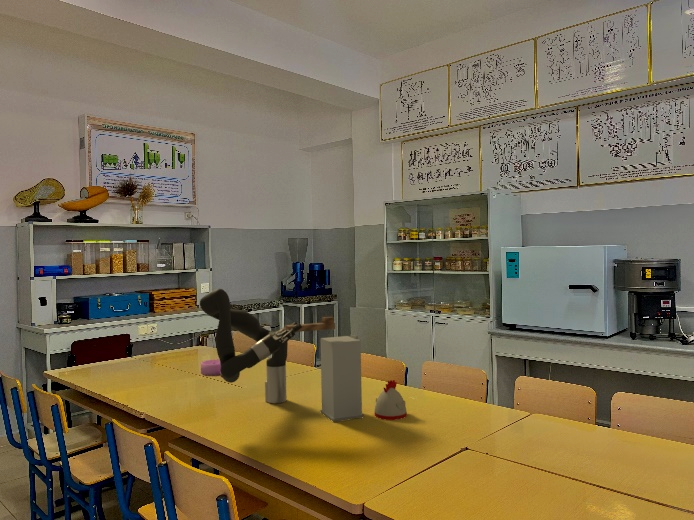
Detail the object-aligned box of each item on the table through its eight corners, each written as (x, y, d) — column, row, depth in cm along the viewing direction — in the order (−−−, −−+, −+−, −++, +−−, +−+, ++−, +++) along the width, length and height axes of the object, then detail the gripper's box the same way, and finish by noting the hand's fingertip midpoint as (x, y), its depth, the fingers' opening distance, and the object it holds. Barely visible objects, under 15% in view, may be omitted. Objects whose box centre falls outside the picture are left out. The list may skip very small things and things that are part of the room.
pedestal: (333, 422, 225) (331, 340, 224) (320, 412, 238) (319, 335, 238) (363, 417, 230) (362, 337, 230) (349, 408, 244) (348, 333, 243)
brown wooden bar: (288, 332, 222) (287, 320, 222) (285, 331, 226) (285, 319, 226) (335, 328, 231) (334, 317, 231) (331, 327, 234) (331, 316, 234)
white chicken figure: (413, 414, 234) (412, 380, 233) (393, 422, 224) (392, 386, 223) (387, 408, 243) (387, 375, 243) (367, 415, 233) (367, 381, 233)
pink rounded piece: (196, 372, 324) (195, 350, 324) (218, 368, 335) (218, 347, 334) (218, 379, 306) (218, 356, 306) (241, 374, 317) (240, 352, 317)
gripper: (264, 352, 227) (297, 329, 233) (274, 358, 214) (309, 334, 220) (255, 337, 226) (289, 315, 232) (264, 342, 213) (300, 318, 219)
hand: (298, 324), depth 226 cm, fingers closed on brown wooden bar, 4 cm apart
